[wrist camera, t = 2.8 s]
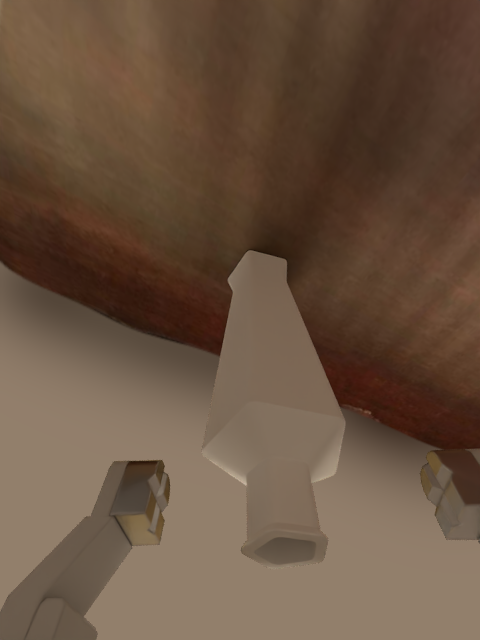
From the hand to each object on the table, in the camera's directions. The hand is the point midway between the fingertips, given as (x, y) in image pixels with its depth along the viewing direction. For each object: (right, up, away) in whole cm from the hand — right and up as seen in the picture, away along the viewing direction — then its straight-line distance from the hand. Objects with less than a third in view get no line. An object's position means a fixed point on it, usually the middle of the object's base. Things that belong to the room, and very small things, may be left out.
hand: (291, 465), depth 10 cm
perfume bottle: (0, +7, +11) cm, 13 cm away
